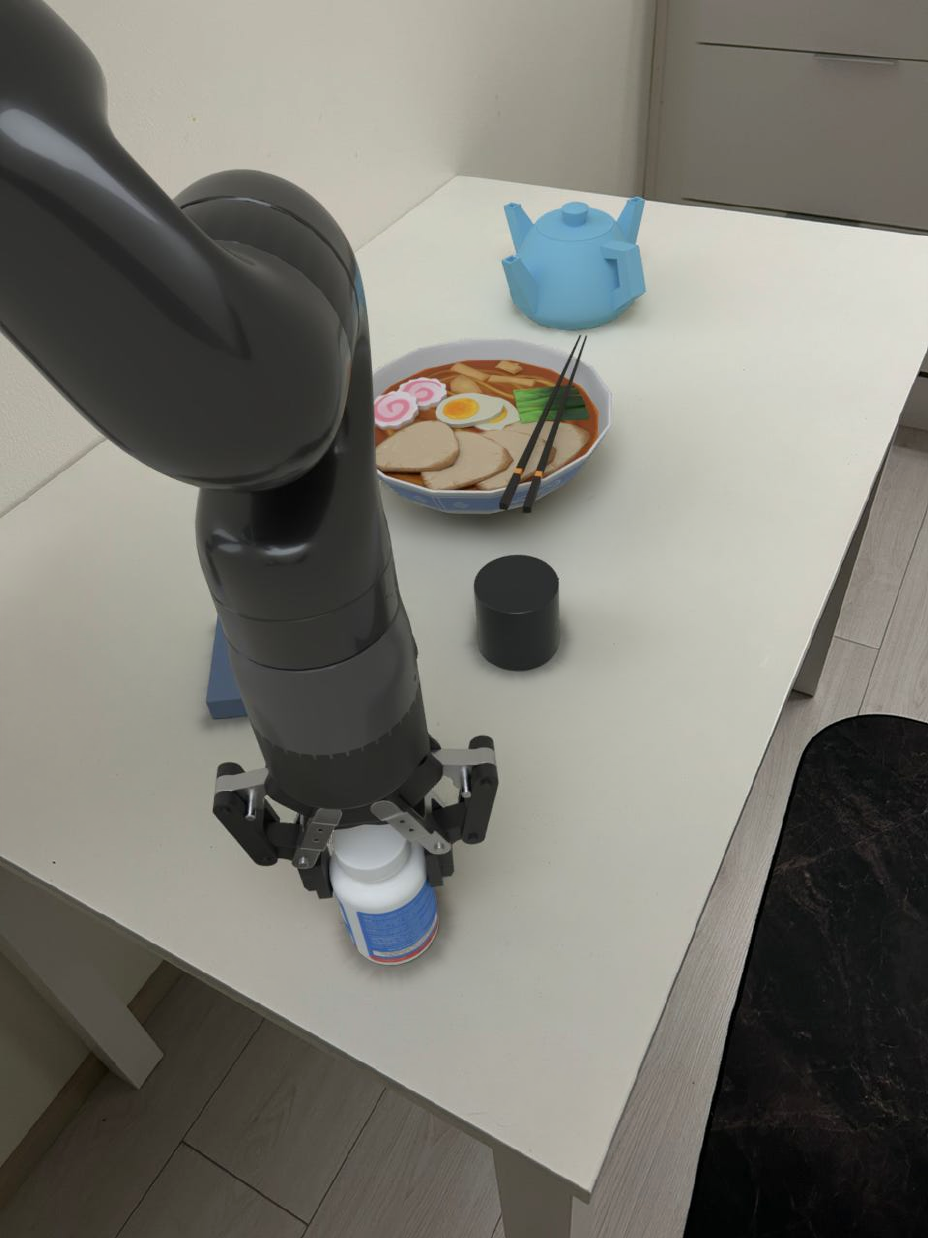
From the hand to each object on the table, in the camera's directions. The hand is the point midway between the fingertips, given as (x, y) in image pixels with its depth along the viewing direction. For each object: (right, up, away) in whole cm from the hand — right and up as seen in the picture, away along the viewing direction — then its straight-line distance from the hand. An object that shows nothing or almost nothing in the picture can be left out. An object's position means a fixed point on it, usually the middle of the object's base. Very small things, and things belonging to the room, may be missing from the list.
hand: (381, 877), depth 54 cm
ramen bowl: (+6, +27, +33) cm, 43 cm away
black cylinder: (+9, +13, +19) cm, 24 cm away
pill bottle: (0, -4, +4) cm, 6 cm away
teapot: (+17, +49, +54) cm, 74 cm away
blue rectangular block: (-11, +11, +19) cm, 24 cm away
